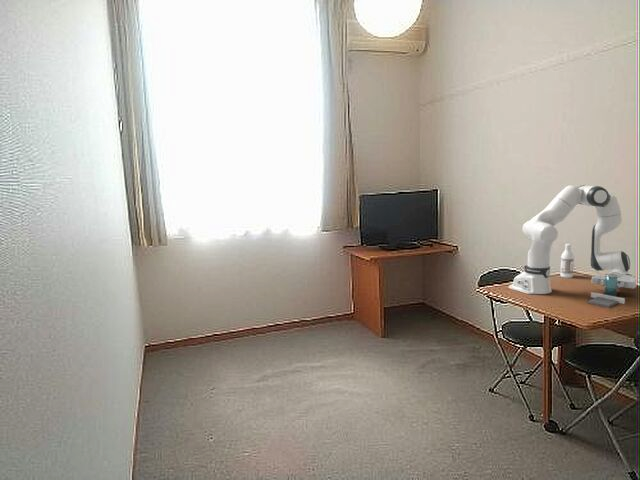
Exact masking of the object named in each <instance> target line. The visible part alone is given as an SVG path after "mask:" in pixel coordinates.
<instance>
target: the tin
mask: <svg viewBox="0 0 640 480" xmlns="http://www.w3.org/2000/svg"><path fill="white" fill-rule="evenodd" d="M604 276H605V286H604V295H609V296H615V297H617V294H618V293H617V291H618V288H617V278H618V275H616V274H609V273H605V275H604Z"/></svg>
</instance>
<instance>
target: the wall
mask: <svg viewBox="0 0 640 480" xmlns="http://www.w3.org/2000/svg"><path fill="white" fill-rule="evenodd" d="M596 297H600V298H606V299H611V300H616V301H618V304H623V305H625V304H626V297H625V298H624V297H619V296H616V297H615V296H609V295H604V294H603V293H599V292H594V291H591V292H590V298H591V299H594V298H596Z"/></svg>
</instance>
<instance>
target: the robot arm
mask: <svg viewBox="0 0 640 480" xmlns="http://www.w3.org/2000/svg"><path fill="white" fill-rule="evenodd" d="M578 204H579V205H584V206H587V207H595V210H596V216H597V220H596V221H597V222H596V224H594V225H593V227H592V231H591V246H590V249H591V252H590V259H589V261H590V262H589V264H590V267H591V268H592V269H594V270H595V271H597V272H599V271H609V270H611V271H610V272H609V273H608V274H616V275H618V278H617V289H619V288H625V289H633V290H634V289H636V285H637V278H636V275H633V274H630V271H629V270H630V269H631V259H630V257H629V255H628V254H627V253H626V252H624V251H623V250H622V251H609V252H608V251H607V252H601V238H602V237H603V236H604V235H606V234H608V233H611V232H613V231H615V230H616V229H617V228H619V227H620V225H621V224H622V211H621V207H620V205H619V202H618V198H617V196H615V195H614V194H610V193H609V192H608V190H607V189H606V188H605V187H602V186H599V185H592V184H589V185H586V184H585V185H580V186H576V185H573V184H572V185H571V184H570V185H567V186H565V187H564V188H563V189H561V191H560V192H559V193H558V194H556V196H554V198H553V199H552V200H551V201H550V202H549V203H548V204H547V206H546V207H545V208H544V209H542V211H540V212H538V214H537V215H535V216H534V217H532V218H531V219H529V220H528V221H526V222H524V223H523V225H522V229H521V230H522V233H523V235H524V236H526V237H527V239H530V240H532V242H531V246H530V249H529V250H528V252H527V264H526V265H524V266H523V267H522V269H523V271H522V272H520V273H519V274H517V275H516V276H515V277H514V278H513V282H512V283H511V284H509V286H508V289H510V290H513V291H517V292H521V293H524V294H528V295H546V294H547V295H548V294H550V293H552V291H553V290H552V288H551V282H550V275H551V266H550V256H551V255H550V254H551V249H552V247H553V244H554V242H555V241H556V240H557V238H558V237H559V236H558V234H559V233H558V230H557V228H556V227H555V226H556V225H557V224H559V223H561V222H563V221H564V220H565V219H566V218H567V217H568V216H569V214H571V212H572V211H573V210H574V209H575V207H576V206H577V205H578ZM591 284H593V285H601V286H604V287H605V275H602V274H595V275H593V276H592V277H591Z"/></svg>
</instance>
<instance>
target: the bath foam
mask: <svg viewBox="0 0 640 480" xmlns="http://www.w3.org/2000/svg"><path fill="white" fill-rule="evenodd" d="M571 245H572V244H571V243H566V244H565V247H564V251H563V252H562V253H561V255H560V277H561V278H565V279H566V278H567V279H569V278H573V277H574V266H575V265H574V263H575V260H574V259H575V256H574V253H573V252H572V249H571Z"/></svg>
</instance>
